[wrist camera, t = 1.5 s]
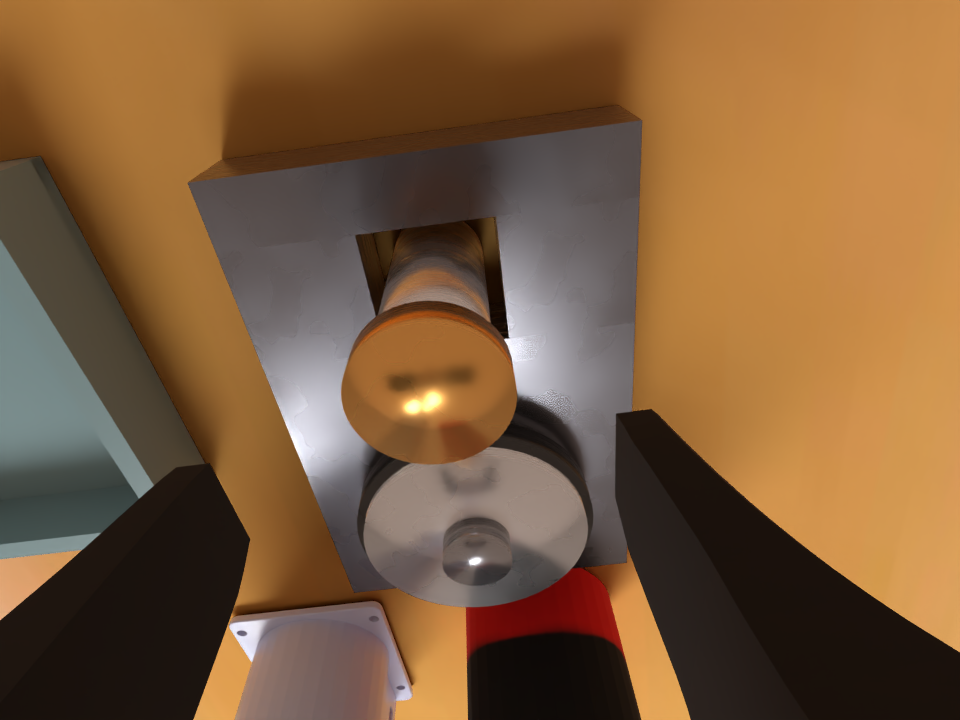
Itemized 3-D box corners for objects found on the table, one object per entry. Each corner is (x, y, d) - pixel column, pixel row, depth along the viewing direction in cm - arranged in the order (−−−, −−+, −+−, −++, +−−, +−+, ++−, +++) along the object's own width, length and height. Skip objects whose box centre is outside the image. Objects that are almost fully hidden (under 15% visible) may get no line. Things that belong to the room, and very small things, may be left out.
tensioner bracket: (612, 517, 26) (646, 628, 22) (362, 545, 27) (342, 660, 22) (618, 105, 16) (682, 145, 12) (221, 160, 17) (132, 220, 12)
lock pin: (500, 300, 20) (523, 454, 13) (395, 313, 20) (364, 473, 13) (488, 193, 18) (508, 312, 11) (370, 209, 18) (319, 335, 11)
